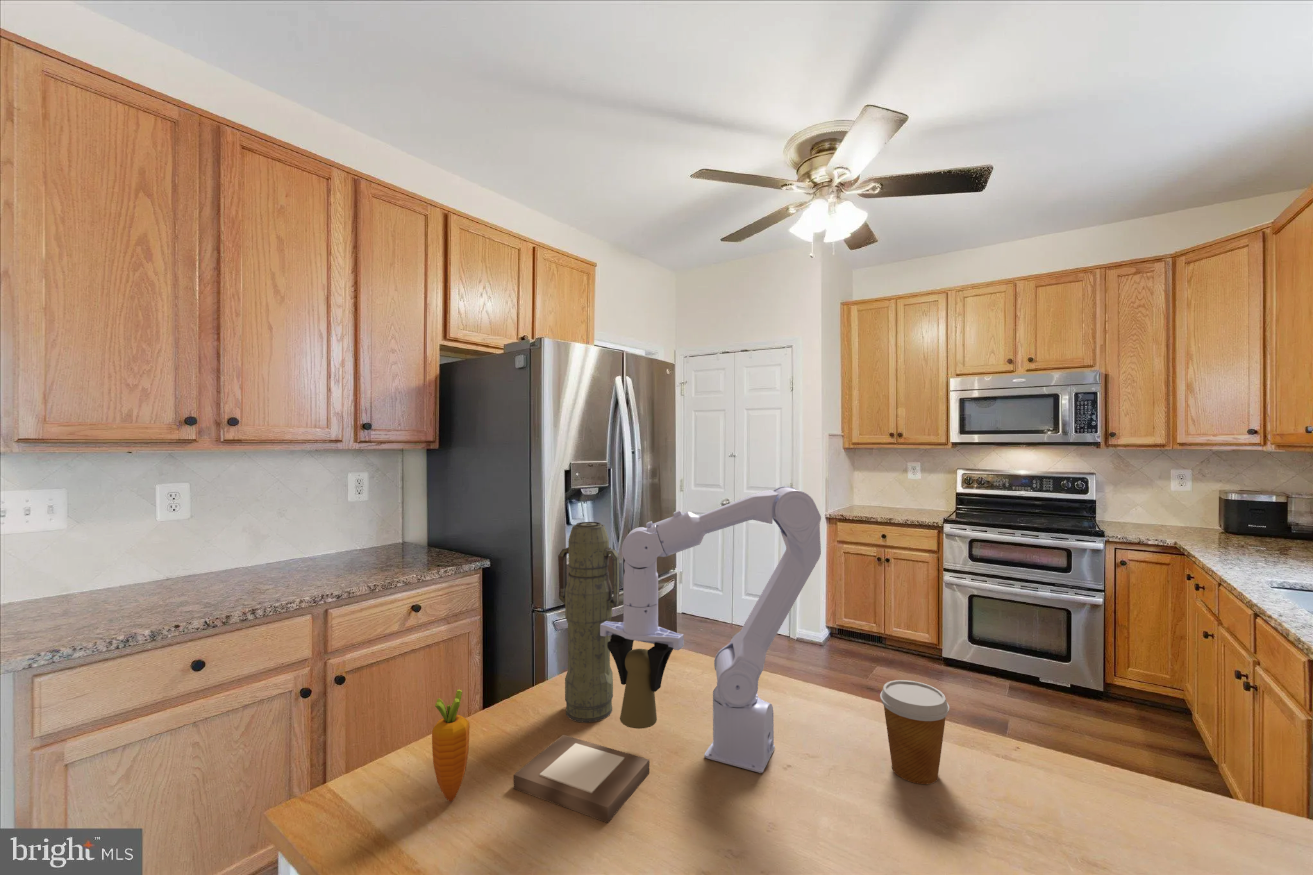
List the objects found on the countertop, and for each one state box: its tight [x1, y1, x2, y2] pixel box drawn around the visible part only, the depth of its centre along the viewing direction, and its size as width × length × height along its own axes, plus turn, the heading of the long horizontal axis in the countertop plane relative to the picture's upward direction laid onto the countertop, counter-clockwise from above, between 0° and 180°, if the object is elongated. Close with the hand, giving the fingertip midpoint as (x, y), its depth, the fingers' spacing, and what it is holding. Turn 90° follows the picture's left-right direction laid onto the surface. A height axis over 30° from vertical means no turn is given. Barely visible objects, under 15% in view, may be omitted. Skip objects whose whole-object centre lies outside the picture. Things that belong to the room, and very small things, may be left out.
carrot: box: [431, 689, 471, 802], centre depth 75 cm, size 5×5×15 cm
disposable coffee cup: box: [879, 679, 950, 785], centre depth 82 cm, size 10×10×12 cm
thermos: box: [557, 521, 620, 724], centre depth 101 cm, size 9×12×35 cm
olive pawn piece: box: [619, 648, 658, 730], centre depth 88 cm, size 6×6×11 cm
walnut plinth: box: [513, 734, 650, 824], centre depth 80 cm, size 16×12×2 cm
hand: (640, 685), depth 88 cm, fingers closed on olive pawn piece, 5 cm apart
